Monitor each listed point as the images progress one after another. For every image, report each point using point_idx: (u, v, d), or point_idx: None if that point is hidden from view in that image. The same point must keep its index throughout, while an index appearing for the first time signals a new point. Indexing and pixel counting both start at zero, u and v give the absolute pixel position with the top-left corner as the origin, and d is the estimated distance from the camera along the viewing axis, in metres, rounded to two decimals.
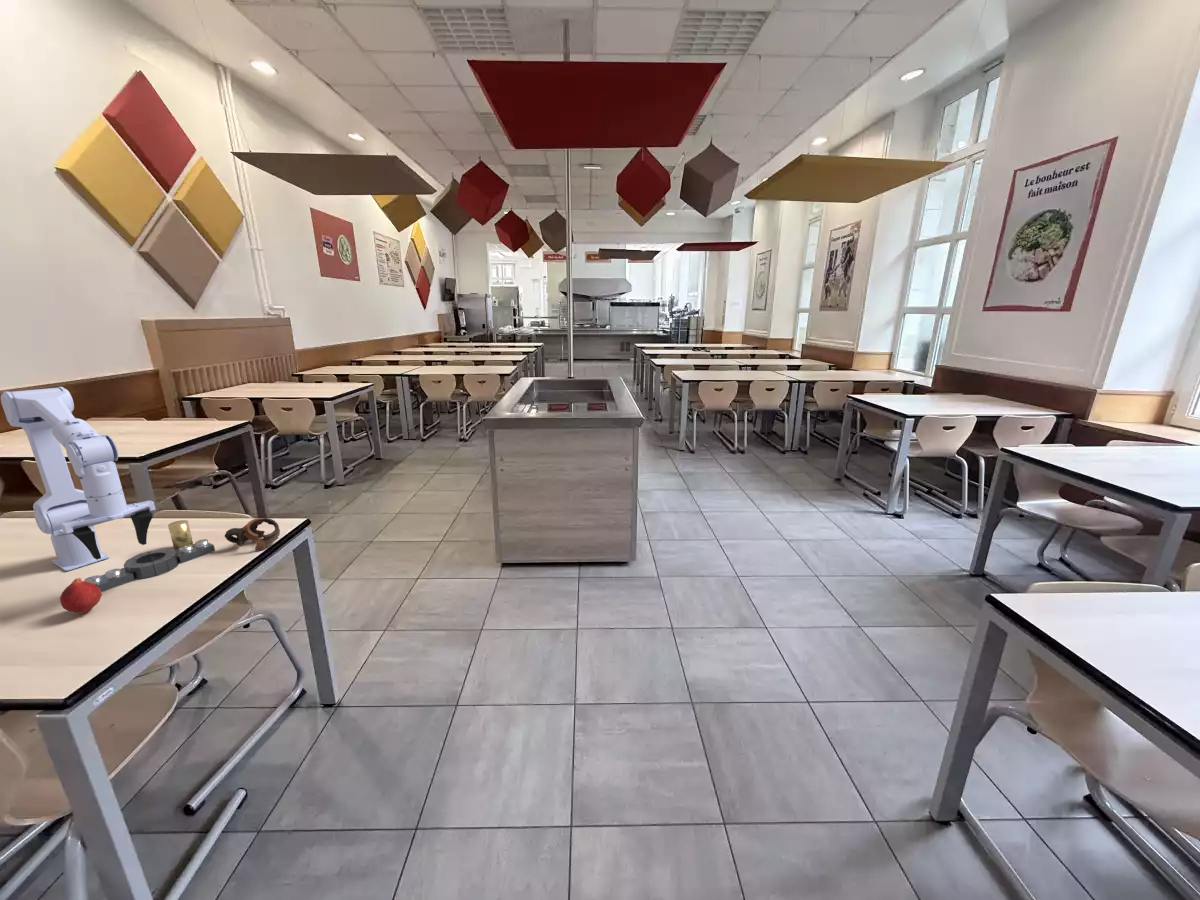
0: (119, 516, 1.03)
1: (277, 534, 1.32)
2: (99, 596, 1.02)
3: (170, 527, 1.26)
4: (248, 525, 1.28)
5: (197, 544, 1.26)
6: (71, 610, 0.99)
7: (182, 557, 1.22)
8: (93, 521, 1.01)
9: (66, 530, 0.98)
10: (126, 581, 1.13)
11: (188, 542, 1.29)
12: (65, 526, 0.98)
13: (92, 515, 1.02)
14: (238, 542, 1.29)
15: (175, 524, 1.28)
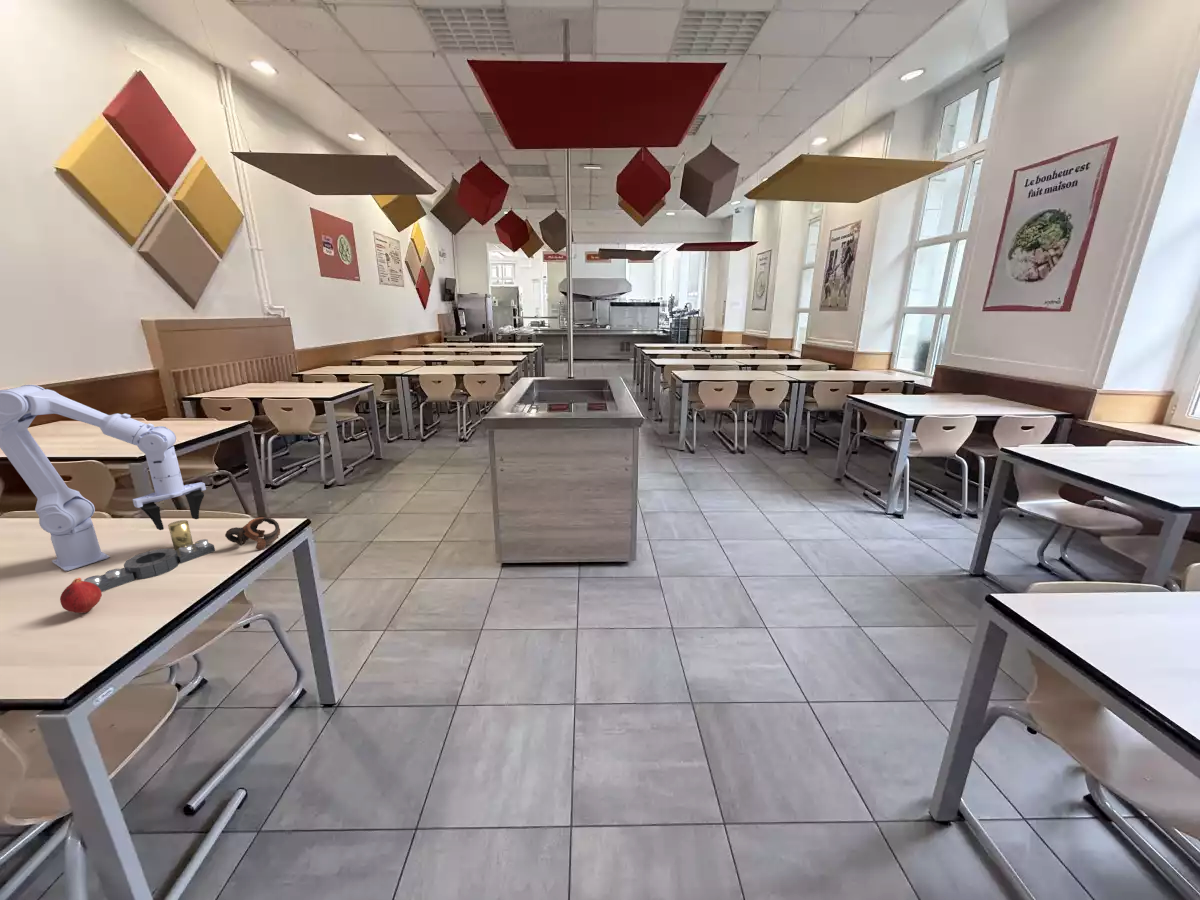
0: (179, 494, 1.24)
1: (277, 533, 1.32)
2: (99, 596, 1.02)
3: (170, 527, 1.26)
4: (249, 524, 1.29)
5: (197, 544, 1.26)
6: (71, 610, 0.99)
7: (182, 557, 1.22)
8: (158, 498, 1.22)
9: (137, 505, 1.19)
10: (126, 581, 1.13)
11: (188, 542, 1.29)
12: (137, 501, 1.19)
13: (157, 493, 1.23)
14: (239, 541, 1.29)
15: (175, 524, 1.28)
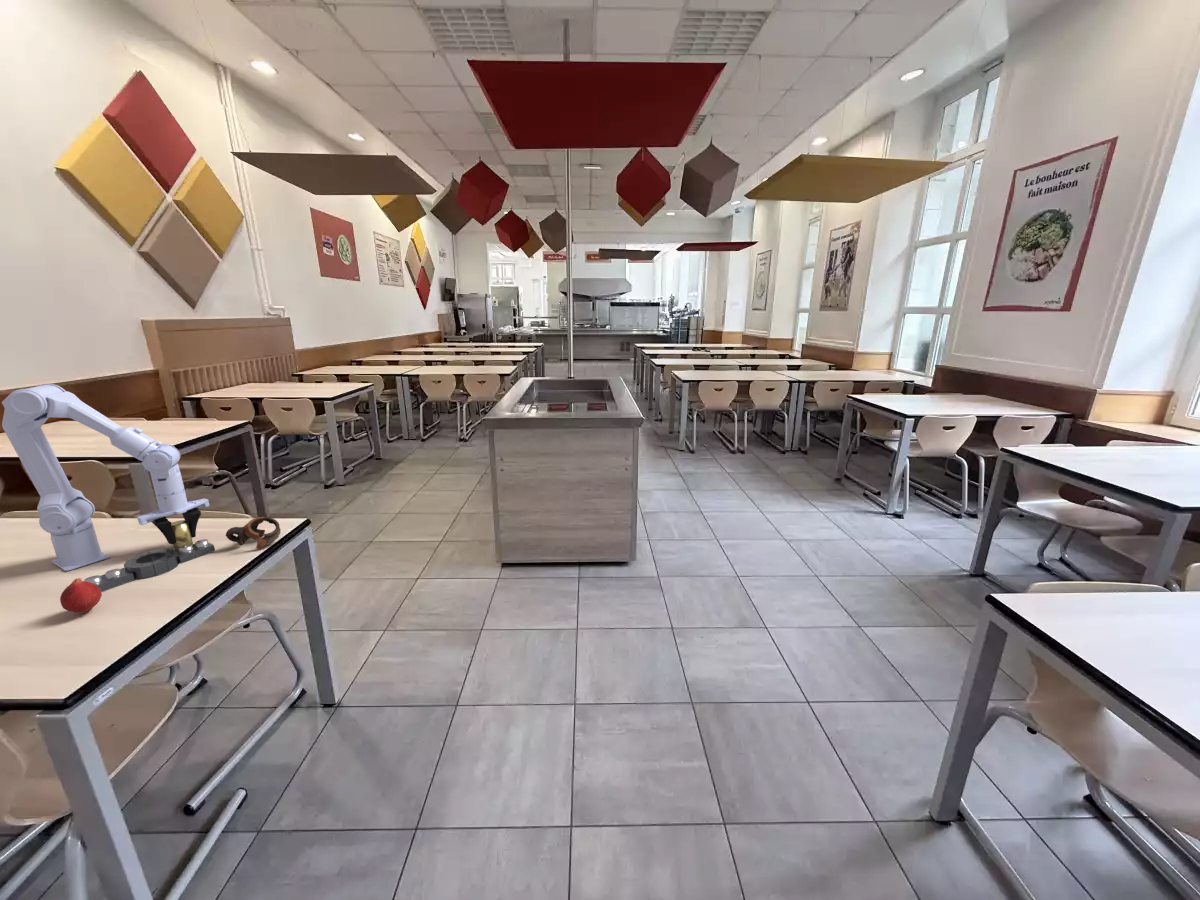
0: (183, 511, 1.25)
1: (278, 533, 1.33)
2: (99, 596, 1.02)
3: None
4: (249, 524, 1.29)
5: (197, 544, 1.26)
6: (71, 610, 0.99)
7: (182, 557, 1.22)
8: (162, 515, 1.23)
9: (142, 522, 1.21)
10: (126, 581, 1.13)
11: (188, 542, 1.29)
12: (141, 519, 1.20)
13: (161, 510, 1.24)
14: (239, 541, 1.29)
15: (175, 524, 1.28)
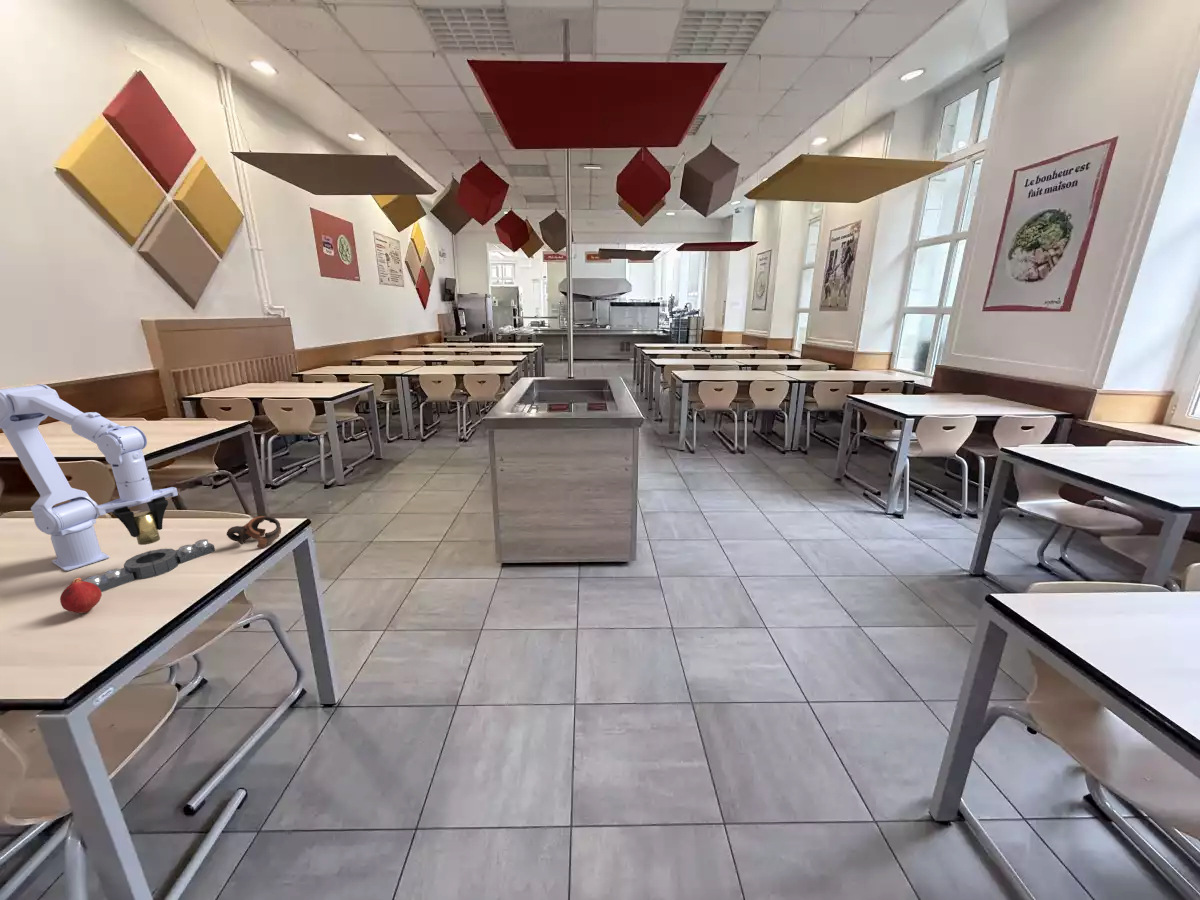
0: (146, 500, 1.13)
1: (278, 532, 1.33)
2: (99, 596, 1.02)
3: None
4: (250, 523, 1.29)
5: (197, 544, 1.26)
6: (71, 610, 0.99)
7: (182, 557, 1.22)
8: (123, 504, 1.11)
9: (100, 512, 1.09)
10: (126, 581, 1.13)
11: (152, 535, 1.17)
12: (99, 509, 1.08)
13: (122, 499, 1.12)
14: (240, 540, 1.30)
15: (139, 515, 1.16)
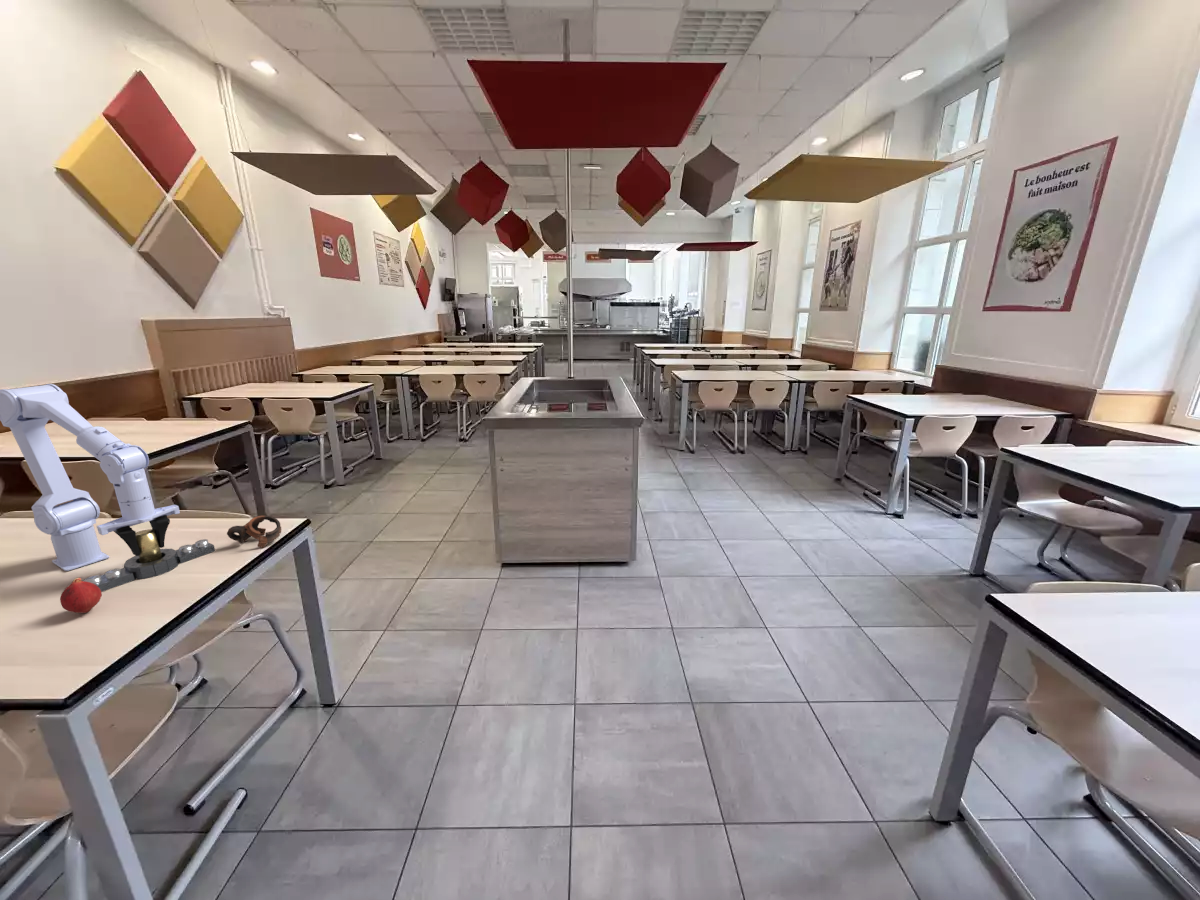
0: (148, 519, 1.14)
1: (279, 531, 1.34)
2: (99, 596, 1.02)
3: None
4: (250, 523, 1.30)
5: (197, 544, 1.26)
6: (71, 610, 0.99)
7: (182, 557, 1.22)
8: (125, 524, 1.12)
9: (102, 532, 1.09)
10: (126, 581, 1.13)
11: (154, 553, 1.17)
12: (101, 528, 1.09)
13: (124, 518, 1.13)
14: (240, 539, 1.30)
15: (141, 533, 1.16)
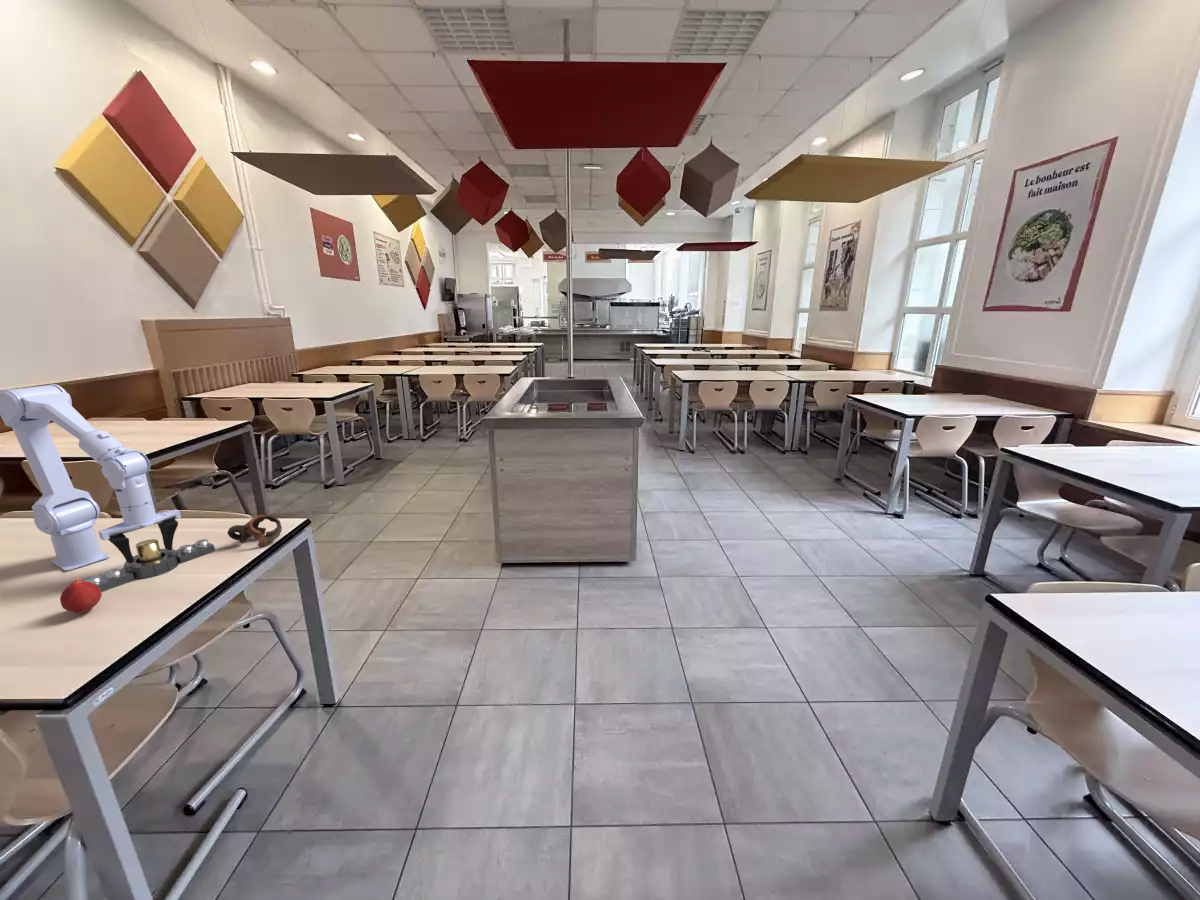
0: (150, 524, 1.14)
1: (279, 531, 1.34)
2: (99, 596, 1.02)
3: (137, 547, 1.15)
4: (251, 522, 1.30)
5: (197, 544, 1.26)
6: (71, 610, 0.99)
7: (182, 557, 1.22)
8: (127, 529, 1.12)
9: (103, 537, 1.09)
10: (126, 581, 1.13)
11: None
12: (102, 534, 1.09)
13: (126, 523, 1.13)
14: (241, 539, 1.30)
15: (144, 543, 1.17)
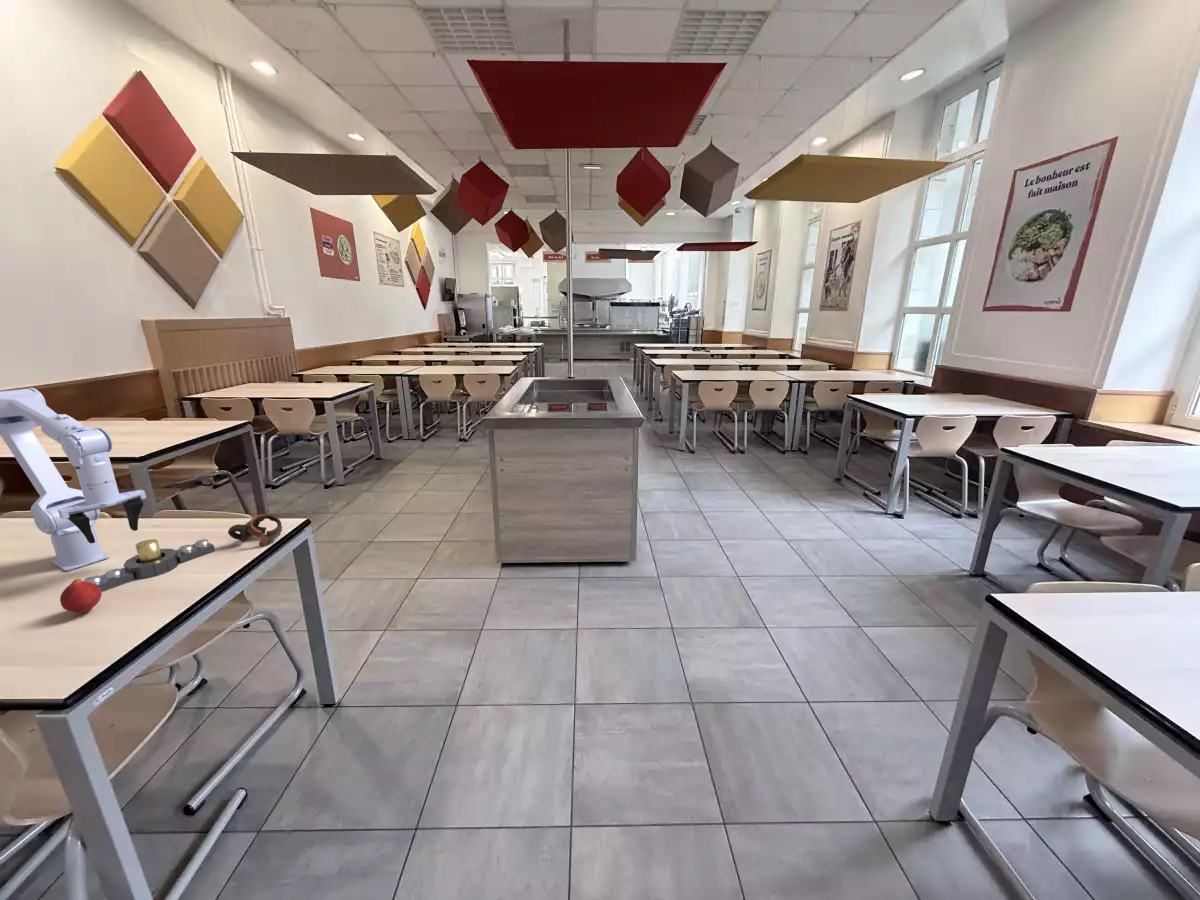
0: (112, 503, 1.11)
1: (280, 530, 1.34)
2: (99, 596, 1.02)
3: (137, 547, 1.15)
4: (251, 521, 1.30)
5: (197, 544, 1.26)
6: (71, 610, 0.99)
7: (182, 557, 1.22)
8: (88, 508, 1.09)
9: (63, 516, 1.07)
10: (126, 581, 1.13)
11: None
12: (62, 512, 1.07)
13: (87, 502, 1.10)
14: (241, 538, 1.31)
15: (144, 543, 1.17)
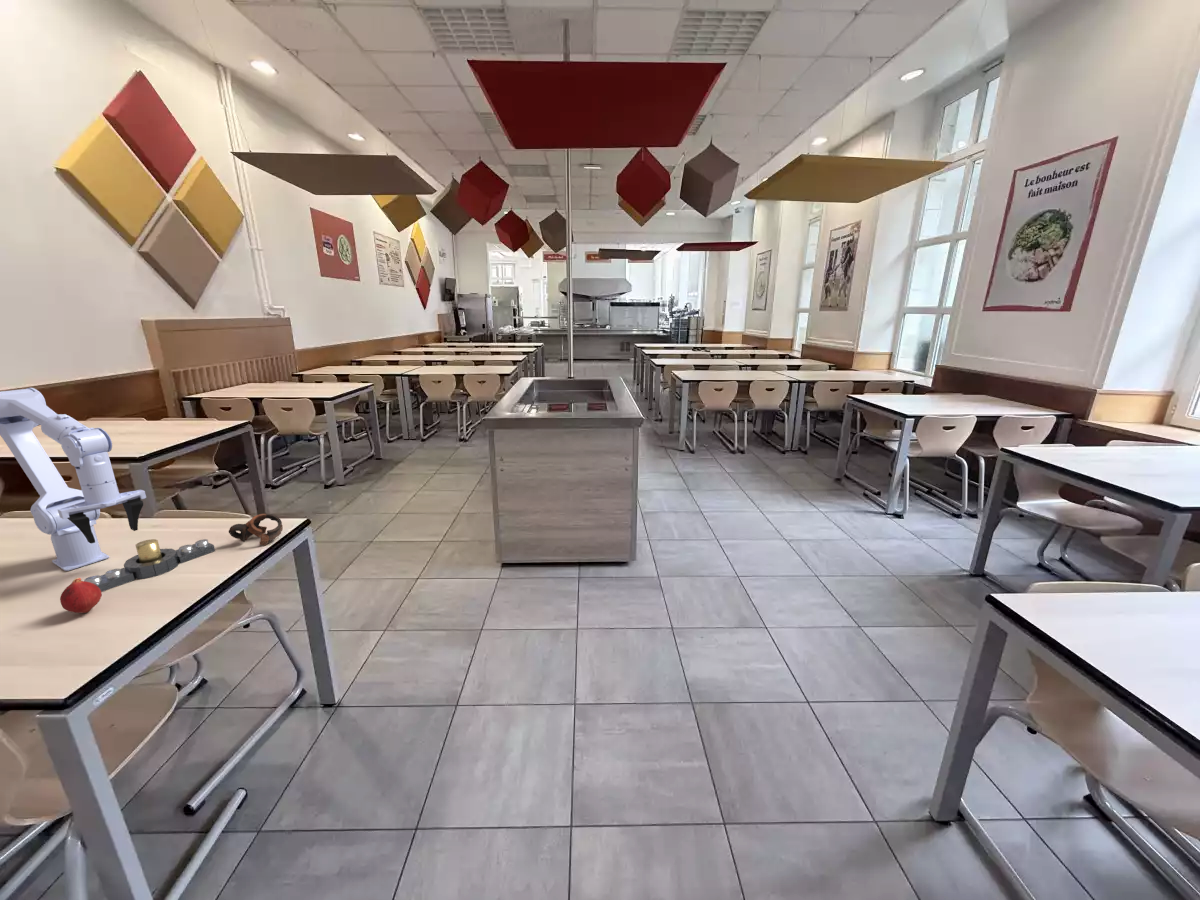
0: (112, 503, 1.11)
1: (280, 529, 1.35)
2: (99, 596, 1.02)
3: (137, 547, 1.15)
4: (252, 521, 1.31)
5: (197, 544, 1.26)
6: (71, 610, 0.99)
7: (182, 557, 1.22)
8: (88, 508, 1.09)
9: (63, 516, 1.07)
10: (126, 581, 1.13)
11: None
12: (62, 512, 1.07)
13: (87, 502, 1.10)
14: (242, 538, 1.31)
15: (144, 543, 1.17)
